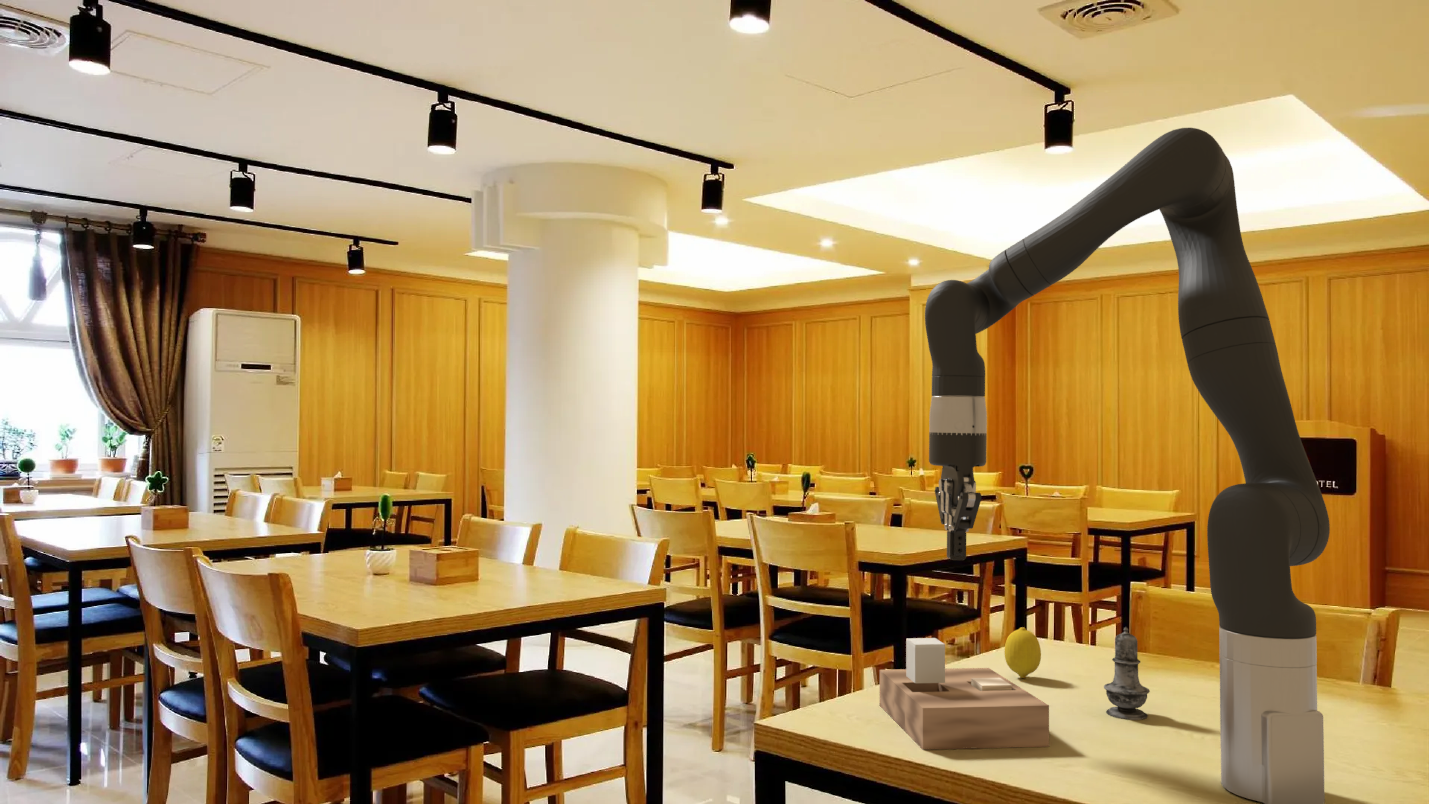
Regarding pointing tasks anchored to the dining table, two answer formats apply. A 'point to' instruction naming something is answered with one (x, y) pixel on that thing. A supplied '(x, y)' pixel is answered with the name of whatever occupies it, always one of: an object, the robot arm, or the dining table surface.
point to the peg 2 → (990, 684)
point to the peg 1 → (925, 660)
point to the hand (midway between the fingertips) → (956, 559)
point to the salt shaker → (1126, 680)
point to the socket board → (964, 711)
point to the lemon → (1022, 652)
